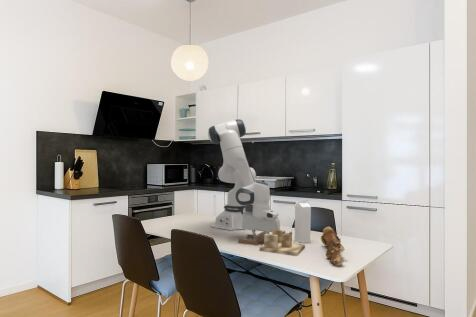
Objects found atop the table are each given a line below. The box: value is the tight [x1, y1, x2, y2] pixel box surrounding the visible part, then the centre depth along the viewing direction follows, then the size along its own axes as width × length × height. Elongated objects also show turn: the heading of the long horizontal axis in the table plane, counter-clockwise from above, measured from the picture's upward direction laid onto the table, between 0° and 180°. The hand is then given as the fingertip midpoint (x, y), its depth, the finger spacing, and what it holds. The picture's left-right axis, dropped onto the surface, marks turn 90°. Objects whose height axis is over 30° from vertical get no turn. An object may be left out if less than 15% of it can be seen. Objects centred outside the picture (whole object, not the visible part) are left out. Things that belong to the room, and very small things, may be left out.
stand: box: [259, 229, 306, 257], centre depth 158 cm, size 18×16×8 cm
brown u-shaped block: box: [238, 231, 266, 246], centre depth 172 cm, size 10×13×4 cm
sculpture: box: [320, 226, 345, 267], centre depth 150 cm, size 9×14×35 cm
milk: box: [294, 199, 312, 244], centre depth 174 cm, size 6×6×22 cm
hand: (260, 239), depth 170 cm, fingers open, 4 cm apart
